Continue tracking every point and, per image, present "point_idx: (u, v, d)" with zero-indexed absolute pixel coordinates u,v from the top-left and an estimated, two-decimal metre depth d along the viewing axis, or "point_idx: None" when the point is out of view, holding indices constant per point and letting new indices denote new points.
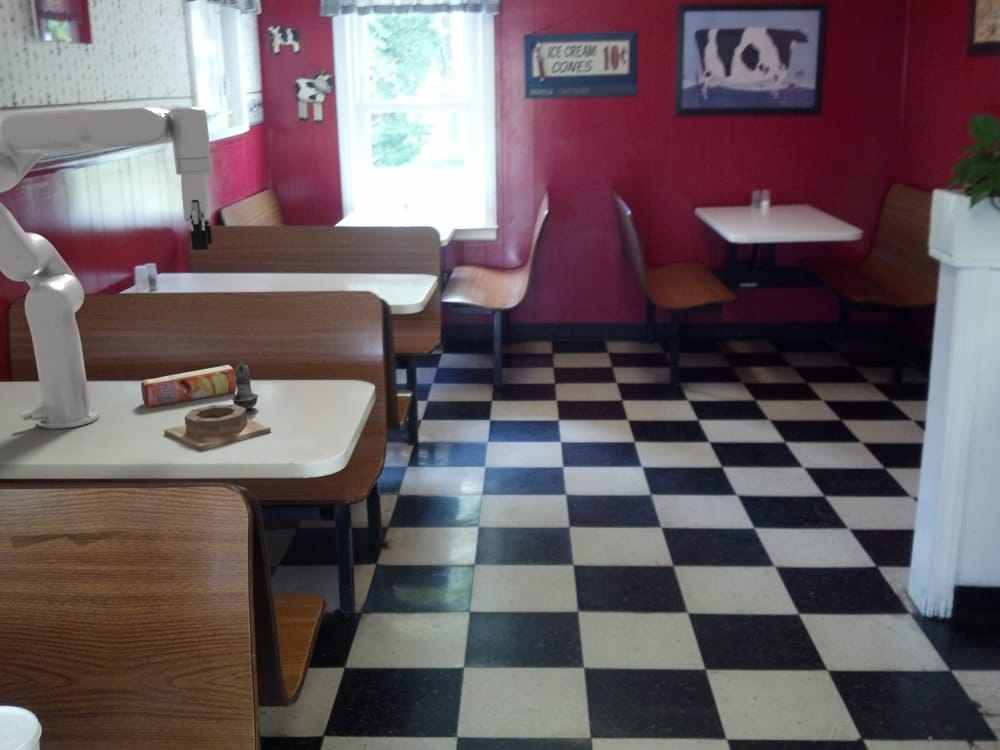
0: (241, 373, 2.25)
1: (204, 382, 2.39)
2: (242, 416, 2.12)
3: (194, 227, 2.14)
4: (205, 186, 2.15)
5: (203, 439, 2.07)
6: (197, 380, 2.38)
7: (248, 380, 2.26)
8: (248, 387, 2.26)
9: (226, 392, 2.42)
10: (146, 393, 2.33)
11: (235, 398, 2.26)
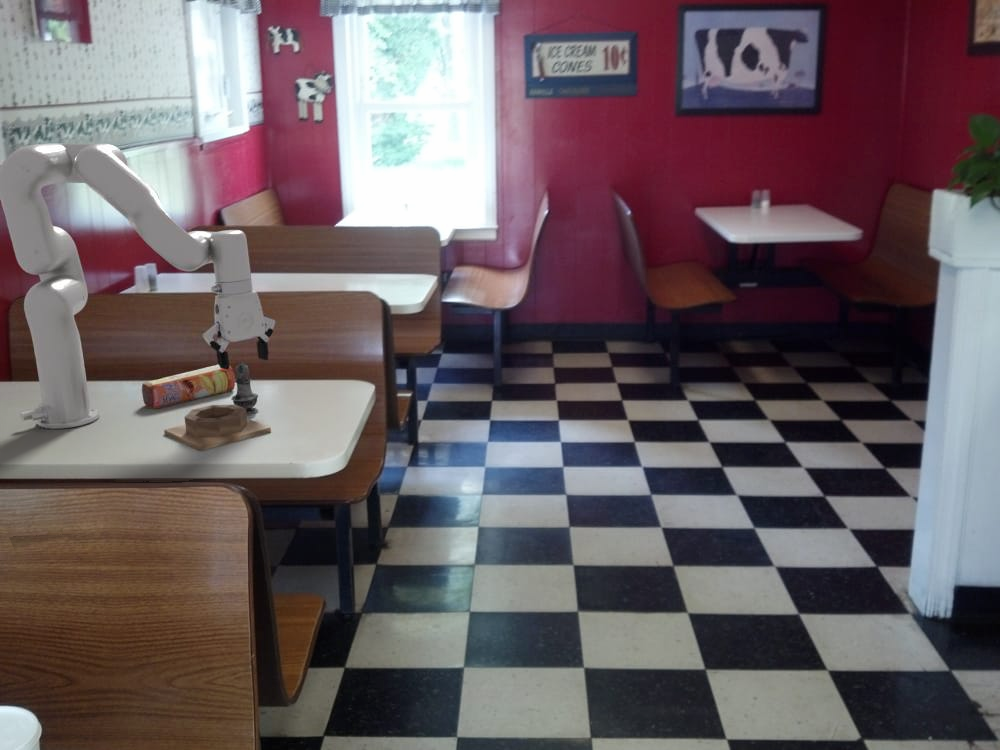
0: (241, 373, 2.25)
1: (206, 381, 2.40)
2: (242, 416, 2.12)
3: None
4: None
5: (203, 439, 2.07)
6: (199, 379, 2.38)
7: (248, 379, 2.26)
8: (248, 387, 2.26)
9: (225, 390, 2.44)
10: (151, 395, 2.32)
11: (235, 398, 2.26)
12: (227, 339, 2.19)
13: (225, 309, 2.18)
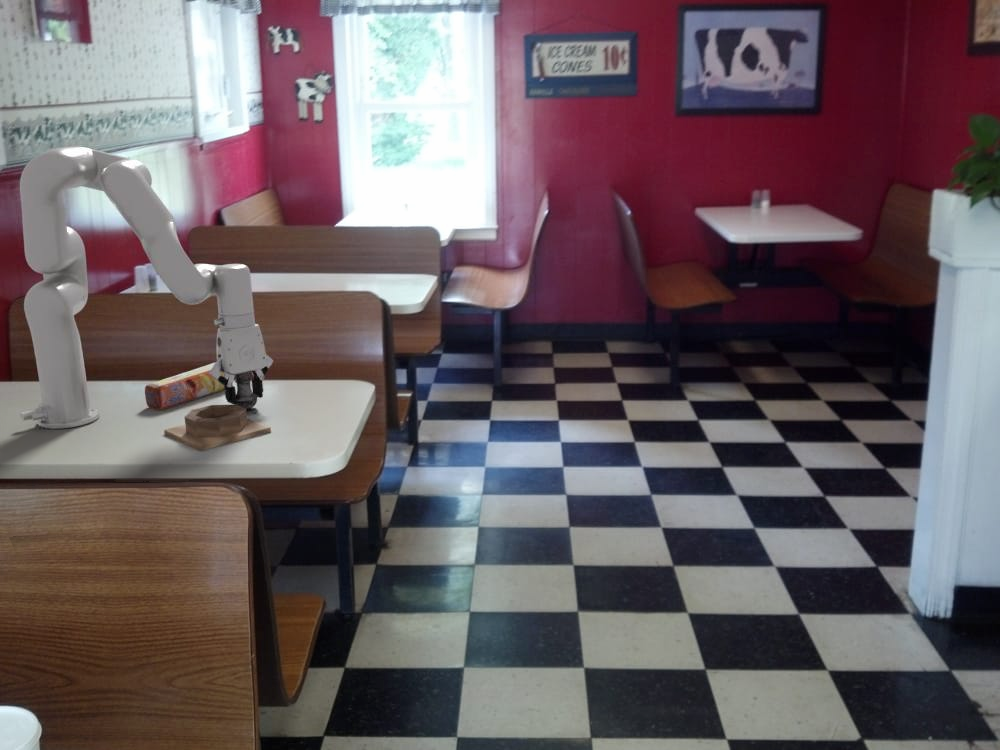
0: (241, 373, 2.25)
1: (206, 380, 2.41)
2: (242, 416, 2.12)
3: None
4: None
5: (203, 439, 2.07)
6: (200, 379, 2.39)
7: (248, 379, 2.26)
8: (248, 387, 2.26)
9: (222, 388, 2.46)
10: (159, 396, 2.31)
11: None
12: (228, 372, 2.21)
13: (227, 342, 2.20)
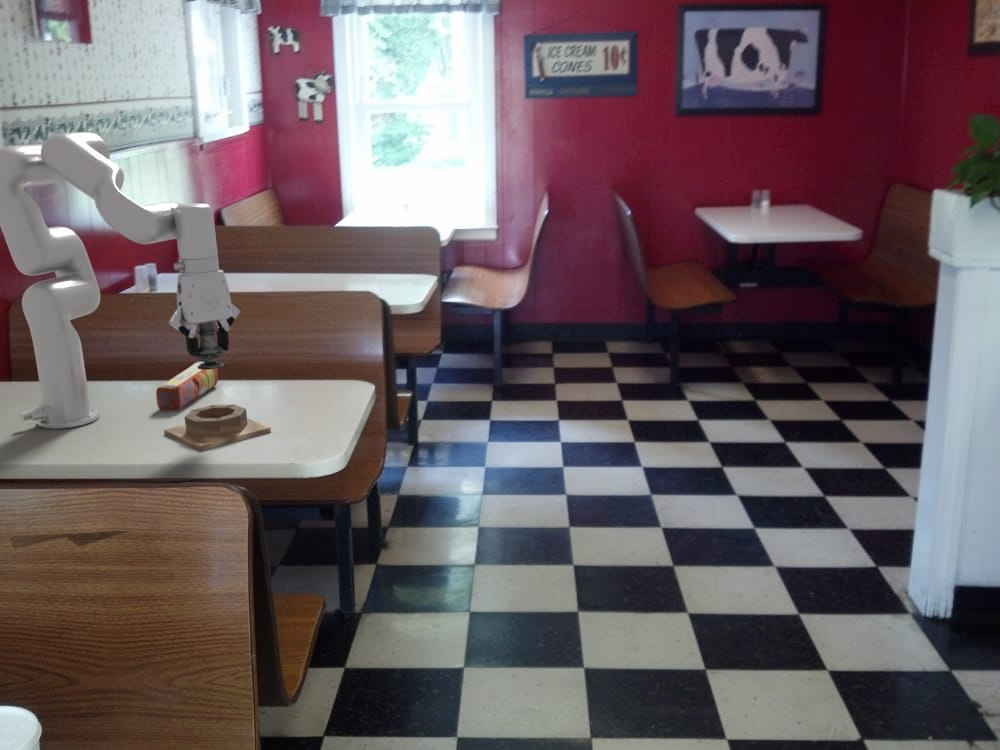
0: (204, 323, 2.07)
1: (204, 378, 2.42)
2: (242, 416, 2.12)
3: None
4: None
5: (203, 439, 2.07)
6: (201, 377, 2.41)
7: (212, 330, 2.08)
8: (212, 339, 2.08)
9: (212, 386, 2.48)
10: (177, 396, 2.30)
11: None
12: (189, 321, 2.03)
13: (188, 288, 2.02)
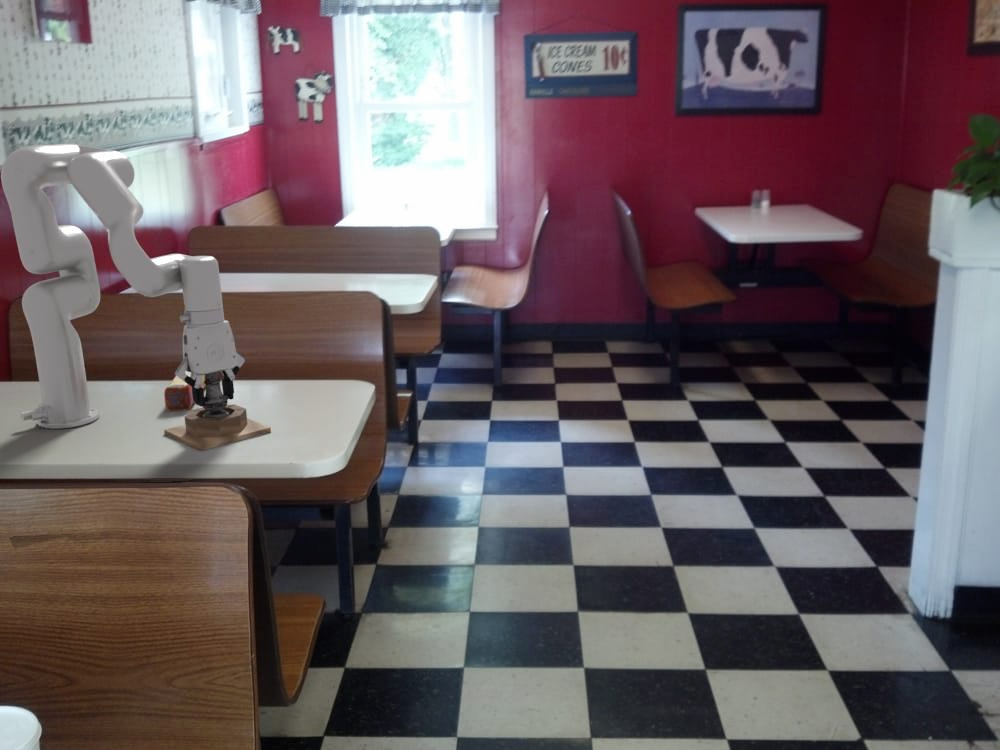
0: None
1: (202, 377, 2.43)
2: (242, 416, 2.12)
3: None
4: None
5: (203, 439, 2.07)
6: None
7: (217, 380, 2.11)
8: (218, 388, 2.11)
9: (205, 386, 2.49)
10: (187, 395, 2.30)
11: None
12: (195, 372, 2.06)
13: (194, 340, 2.04)
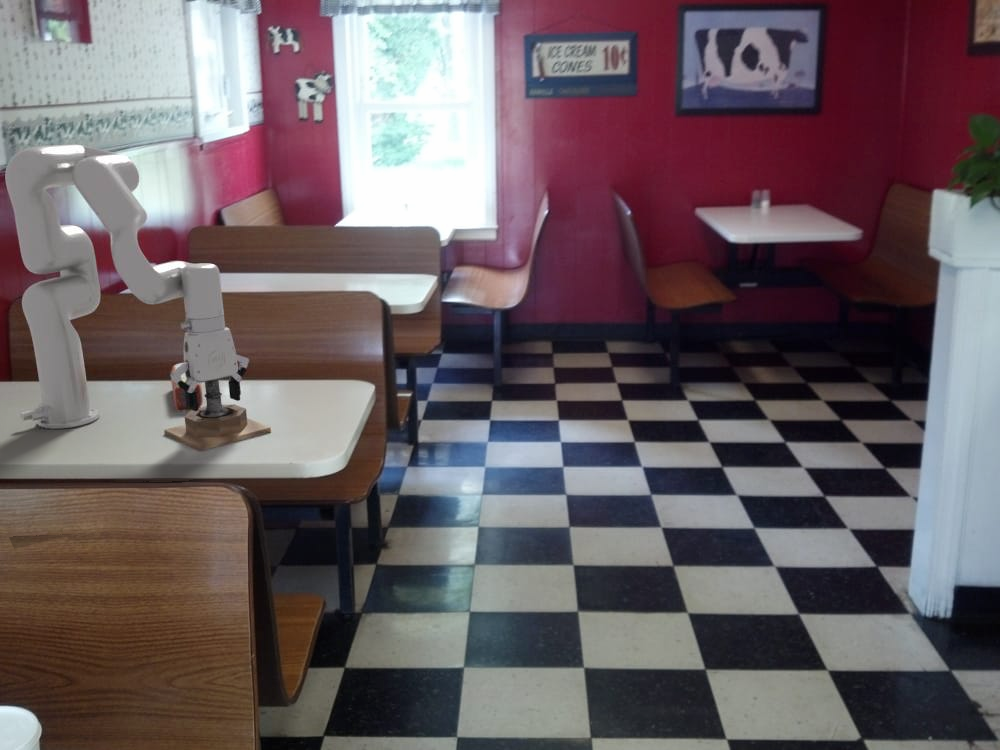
0: (210, 387, 2.10)
1: None
2: (242, 416, 2.12)
3: None
4: None
5: (203, 439, 2.07)
6: None
7: (218, 394, 2.11)
8: (218, 402, 2.12)
9: None
10: (198, 393, 2.31)
11: (204, 413, 2.11)
12: (196, 379, 2.06)
13: (195, 347, 2.05)
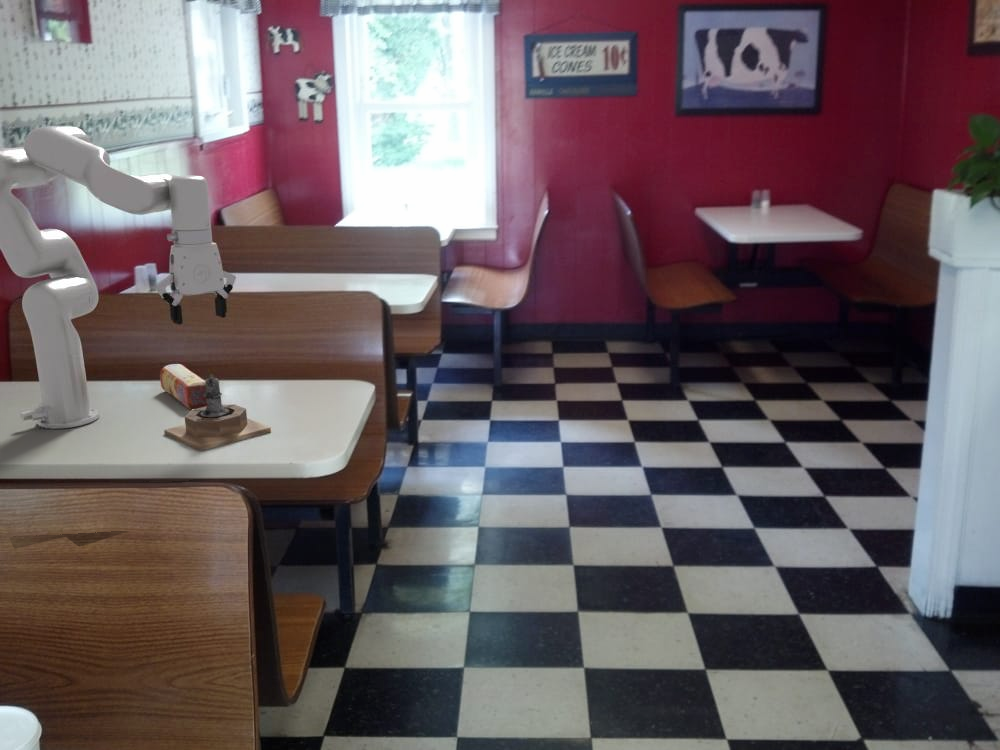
0: (210, 387, 2.10)
1: None
2: (242, 416, 2.12)
3: None
4: None
5: (203, 439, 2.07)
6: None
7: (218, 394, 2.11)
8: (218, 402, 2.12)
9: None
10: None
11: (204, 413, 2.11)
12: (181, 292, 2.04)
13: (180, 259, 2.03)
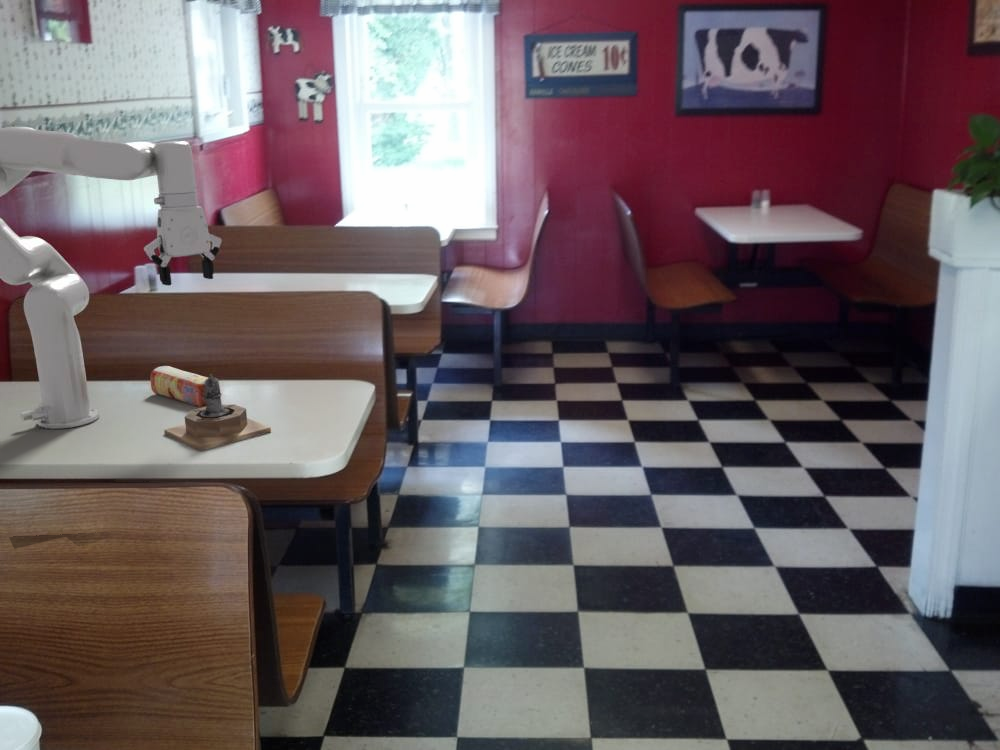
0: (210, 387, 2.10)
1: None
2: (242, 416, 2.12)
3: None
4: None
5: (203, 439, 2.07)
6: None
7: (218, 394, 2.11)
8: (218, 402, 2.12)
9: None
10: (219, 388, 2.35)
11: (204, 414, 2.11)
12: (169, 254, 2.12)
13: (167, 222, 2.11)
